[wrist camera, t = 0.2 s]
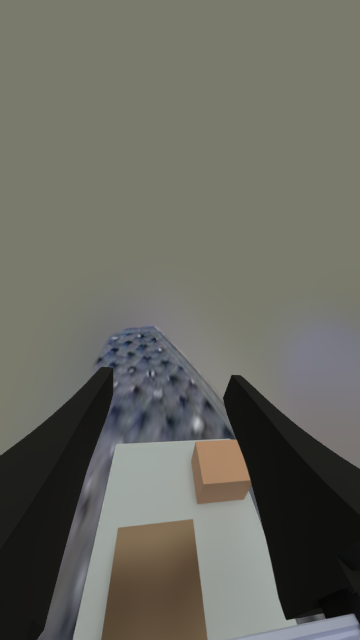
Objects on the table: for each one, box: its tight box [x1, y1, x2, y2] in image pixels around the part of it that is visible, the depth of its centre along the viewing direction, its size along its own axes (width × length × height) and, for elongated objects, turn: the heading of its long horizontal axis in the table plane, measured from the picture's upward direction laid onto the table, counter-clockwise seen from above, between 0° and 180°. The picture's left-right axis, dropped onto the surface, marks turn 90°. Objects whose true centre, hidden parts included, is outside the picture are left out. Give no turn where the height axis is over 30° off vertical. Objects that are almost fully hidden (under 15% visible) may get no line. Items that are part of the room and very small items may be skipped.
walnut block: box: [101, 519, 208, 640], centre depth 13 cm, size 7×7×4 cm
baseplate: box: [73, 439, 297, 640], centre depth 17 cm, size 20×18×1 cm
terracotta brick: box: [191, 440, 252, 504], centre depth 22 cm, size 4×6×4 cm
